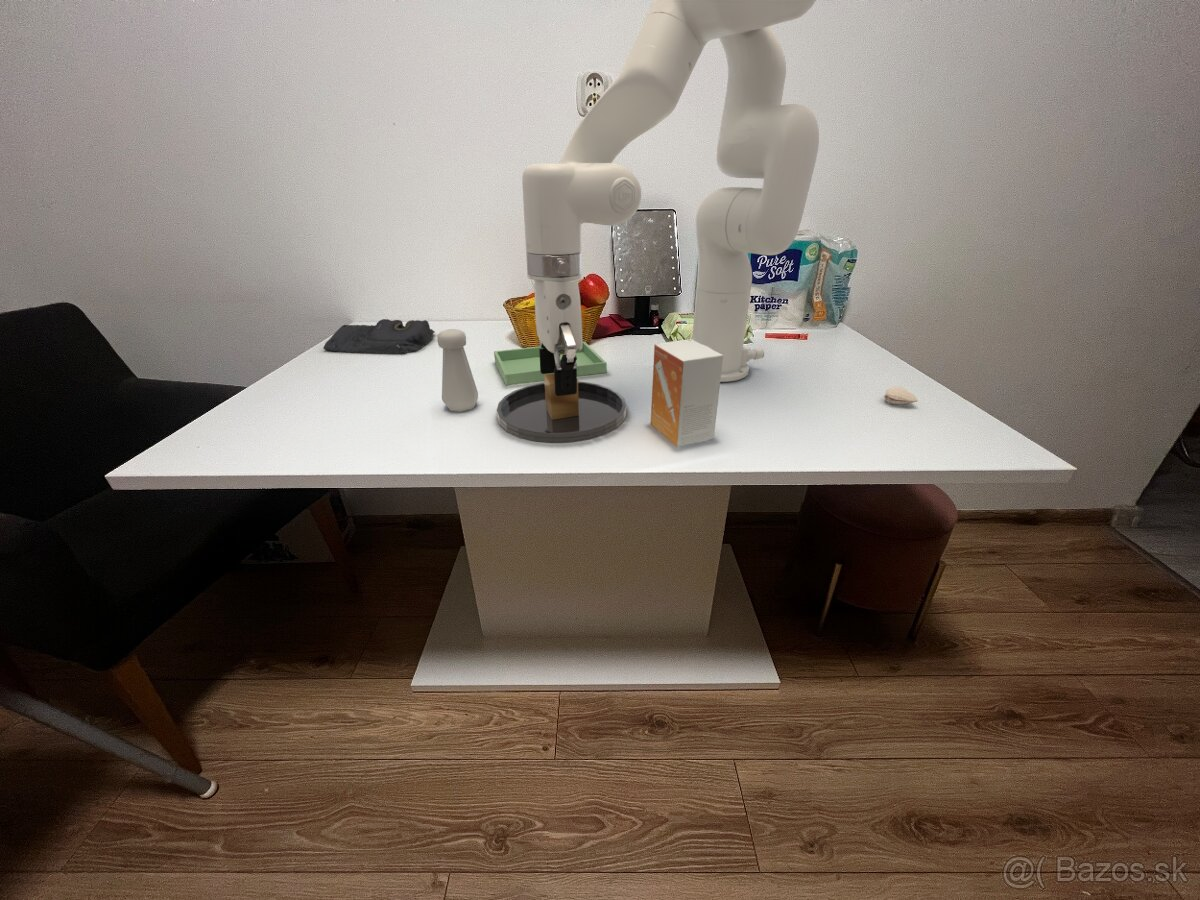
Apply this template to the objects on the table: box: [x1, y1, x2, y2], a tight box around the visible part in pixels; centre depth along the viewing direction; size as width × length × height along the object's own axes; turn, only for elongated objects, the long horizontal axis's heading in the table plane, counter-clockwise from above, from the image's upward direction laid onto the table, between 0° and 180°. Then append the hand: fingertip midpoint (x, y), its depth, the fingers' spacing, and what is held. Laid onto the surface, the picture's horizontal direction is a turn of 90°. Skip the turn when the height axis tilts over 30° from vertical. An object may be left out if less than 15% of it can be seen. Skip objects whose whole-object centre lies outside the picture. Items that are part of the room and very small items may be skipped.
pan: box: [496, 380, 627, 444], centre depth 81 cm, size 20×20×2 cm
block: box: [543, 374, 579, 420], centre depth 80 cm, size 4×4×6 cm
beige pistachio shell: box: [884, 386, 919, 405], centre depth 84 cm, size 4×5×2 cm
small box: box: [650, 338, 723, 447], centre depth 72 cm, size 8×6×13 cm
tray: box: [493, 341, 608, 386], centre depth 100 cm, size 19×14×2 cm
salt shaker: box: [436, 328, 479, 413], centre depth 81 cm, size 6×6×13 cm
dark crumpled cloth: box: [322, 318, 436, 355], centre depth 115 cm, size 15×22×5 cm
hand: (557, 382), depth 78 cm, fingers open, 9 cm apart
